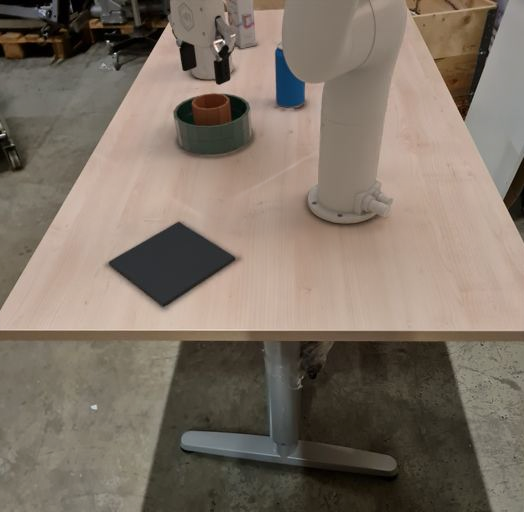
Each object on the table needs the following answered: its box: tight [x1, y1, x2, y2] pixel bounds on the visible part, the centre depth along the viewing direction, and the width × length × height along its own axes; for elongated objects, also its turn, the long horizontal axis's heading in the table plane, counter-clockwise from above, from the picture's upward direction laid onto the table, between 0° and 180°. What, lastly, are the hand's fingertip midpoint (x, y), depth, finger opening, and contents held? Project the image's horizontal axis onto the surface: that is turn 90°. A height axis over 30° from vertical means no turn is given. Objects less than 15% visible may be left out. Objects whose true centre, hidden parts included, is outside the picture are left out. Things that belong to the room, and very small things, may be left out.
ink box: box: [225, 0, 257, 50], centre depth 132 cm, size 9×5×12 cm, turn 25°
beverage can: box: [274, 41, 306, 109], centre depth 104 cm, size 6×6×12 cm
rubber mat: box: [108, 221, 236, 308], centre depth 74 cm, size 14×14×1 cm
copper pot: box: [192, 92, 232, 126], centre depth 97 cm, size 7×8×7 cm
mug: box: [190, 45, 234, 80], centre depth 120 cm, size 14×11×10 cm
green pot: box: [172, 92, 253, 156], centre depth 98 cm, size 15×15×6 cm
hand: (206, 75), depth 91 cm, fingers open, 9 cm apart
